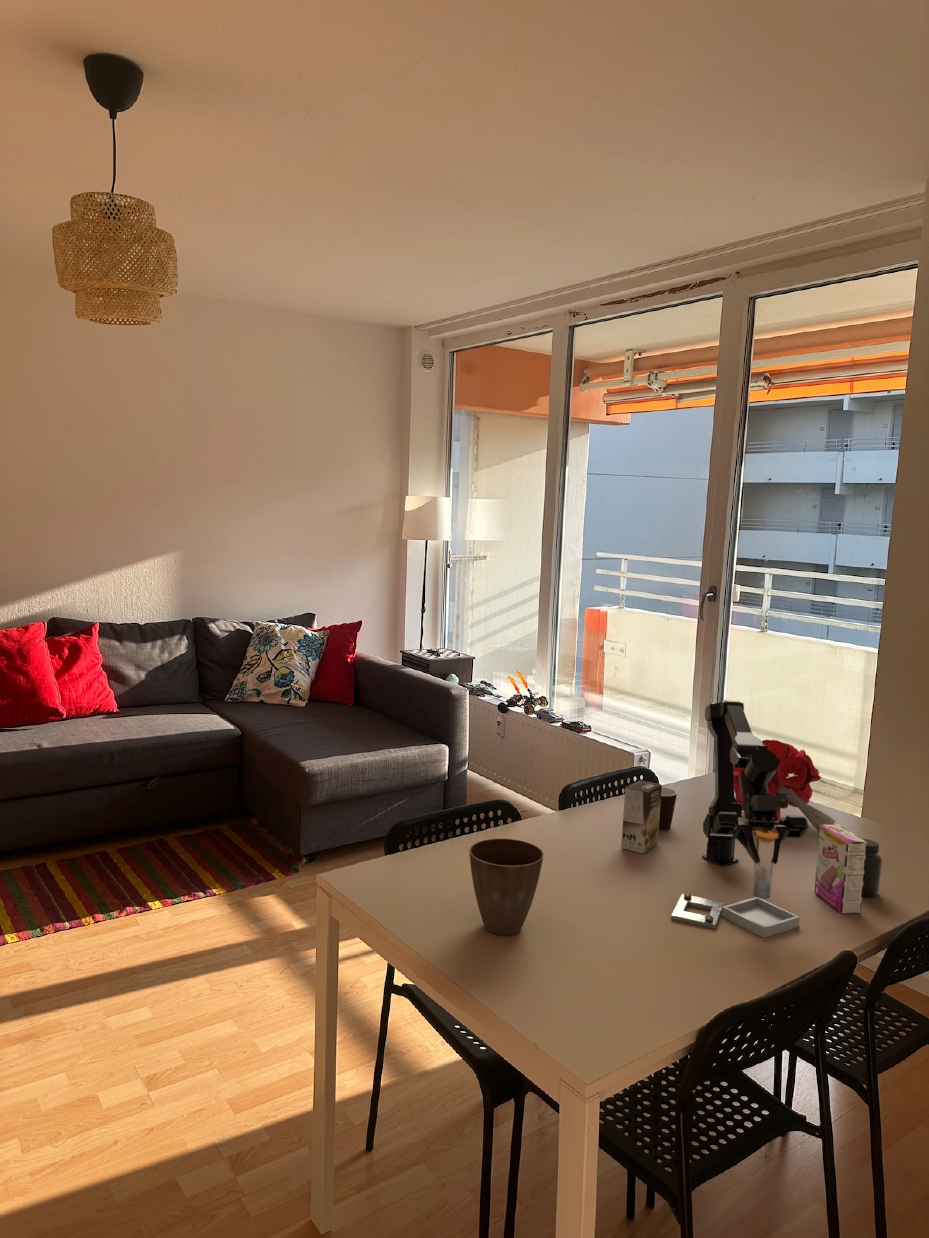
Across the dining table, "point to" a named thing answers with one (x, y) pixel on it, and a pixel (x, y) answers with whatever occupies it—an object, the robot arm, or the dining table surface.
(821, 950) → the dining table surface
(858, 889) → the candy bar box
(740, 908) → the tray
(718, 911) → the plate
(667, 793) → the coffee mug
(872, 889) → the supplement bottle
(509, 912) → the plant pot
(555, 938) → the dining table surface
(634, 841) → the coffee box
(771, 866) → the orange capped tube
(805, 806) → the bouquet
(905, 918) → the dining table surface
